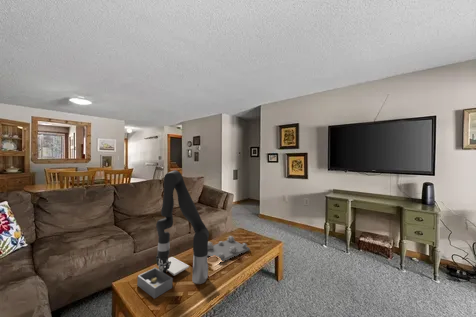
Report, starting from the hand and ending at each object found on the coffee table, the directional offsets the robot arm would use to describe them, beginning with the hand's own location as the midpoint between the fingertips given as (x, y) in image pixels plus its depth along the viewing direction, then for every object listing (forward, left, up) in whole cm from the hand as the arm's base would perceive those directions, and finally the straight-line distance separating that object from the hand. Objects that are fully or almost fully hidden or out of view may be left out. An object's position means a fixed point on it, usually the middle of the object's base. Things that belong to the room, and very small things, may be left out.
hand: (162, 273), depth 136 cm
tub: (+10, +6, -1) cm, 11 cm away
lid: (-6, 0, 0) cm, 6 cm away
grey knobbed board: (-54, +11, -2) cm, 55 cm away
